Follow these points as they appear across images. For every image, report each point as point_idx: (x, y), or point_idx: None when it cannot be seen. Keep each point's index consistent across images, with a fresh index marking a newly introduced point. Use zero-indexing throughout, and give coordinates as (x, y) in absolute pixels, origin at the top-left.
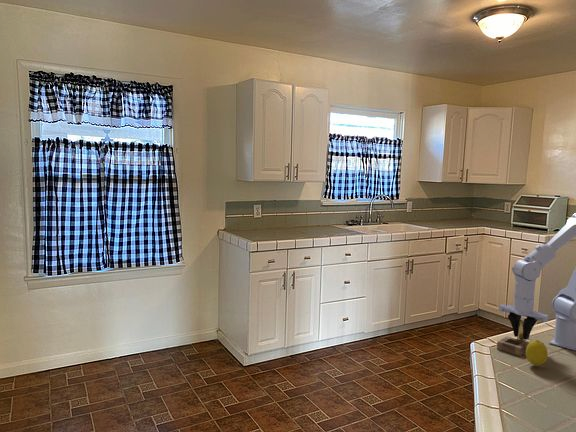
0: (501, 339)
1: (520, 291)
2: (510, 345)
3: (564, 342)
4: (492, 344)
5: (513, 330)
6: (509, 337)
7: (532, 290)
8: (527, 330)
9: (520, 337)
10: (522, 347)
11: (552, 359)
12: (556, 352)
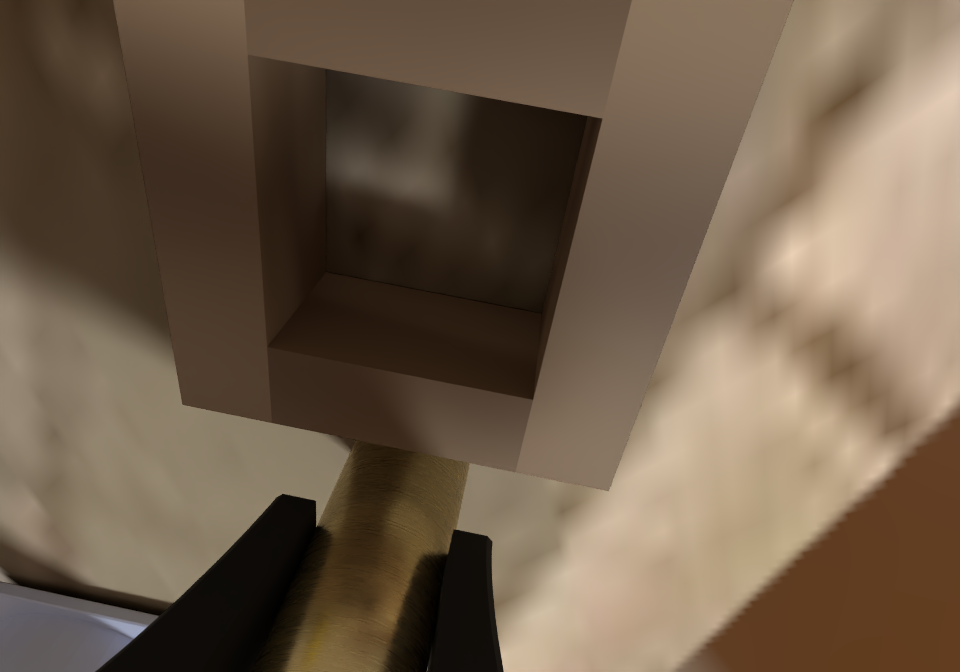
0: (694, 242)
1: None
2: None
3: (31, 652)
4: (847, 203)
5: (489, 639)
6: (552, 457)
7: None
8: (129, 660)
9: (368, 516)
10: (130, 40)
11: None
12: (25, 450)
